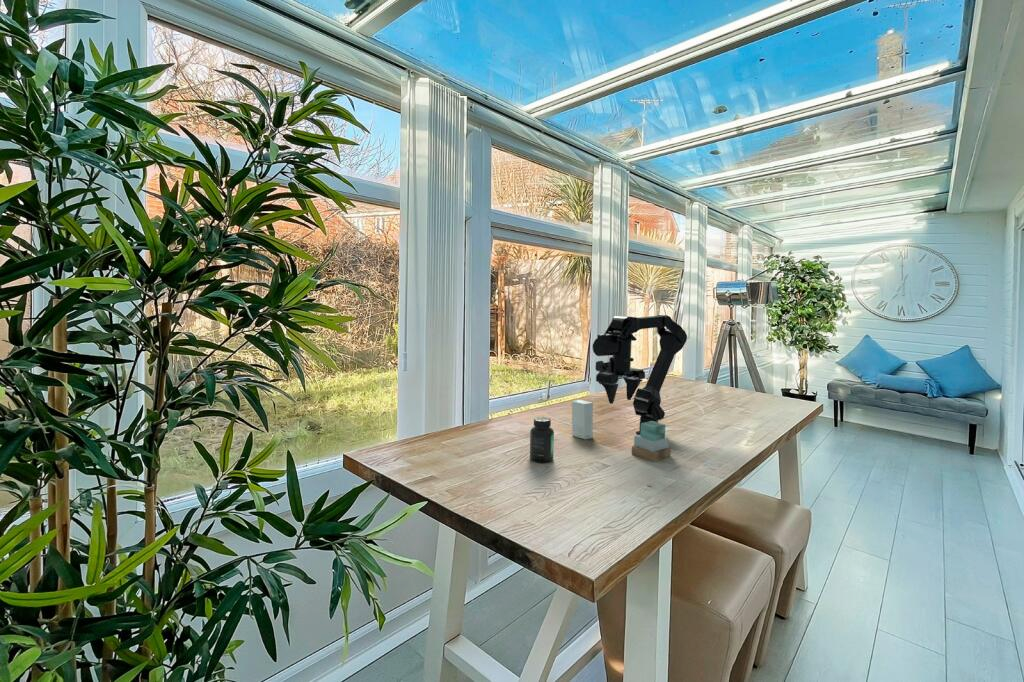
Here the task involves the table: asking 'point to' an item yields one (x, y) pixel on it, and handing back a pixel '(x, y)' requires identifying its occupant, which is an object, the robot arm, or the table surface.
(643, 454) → the walnut base block
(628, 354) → the robot arm
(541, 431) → the supplement bottle
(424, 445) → the table surface
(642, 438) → the slate-grey top block
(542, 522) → the table surface
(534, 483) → the table surface
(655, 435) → the teal cube
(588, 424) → the skincare box
